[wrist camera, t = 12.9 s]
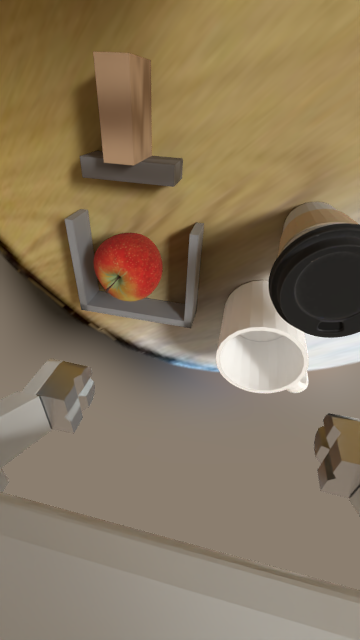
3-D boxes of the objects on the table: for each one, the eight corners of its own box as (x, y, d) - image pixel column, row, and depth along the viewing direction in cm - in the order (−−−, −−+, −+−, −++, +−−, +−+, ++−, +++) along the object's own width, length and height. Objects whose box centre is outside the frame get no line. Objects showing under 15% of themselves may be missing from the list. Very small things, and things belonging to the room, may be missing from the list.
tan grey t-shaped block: (86, 57, 29) (53, 50, 25) (187, 61, 28) (172, 54, 23) (98, 170, 35) (73, 181, 31) (181, 178, 34) (169, 191, 29)
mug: (209, 309, 44) (198, 358, 35) (263, 264, 38) (264, 309, 30) (270, 359, 47) (271, 415, 38) (328, 324, 41) (344, 381, 33)
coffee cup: (288, 278, 38) (300, 359, 26) (251, 214, 35) (246, 275, 23) (370, 240, 33) (429, 318, 22) (337, 162, 30) (386, 204, 18)
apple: (181, 266, 40) (162, 307, 33) (133, 285, 44) (105, 327, 36) (150, 210, 37) (120, 241, 29) (101, 236, 40) (62, 270, 33)
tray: (80, 209, 39) (64, 219, 36) (204, 223, 36) (198, 235, 33) (93, 295, 47) (81, 309, 43) (196, 311, 44) (190, 328, 41)
